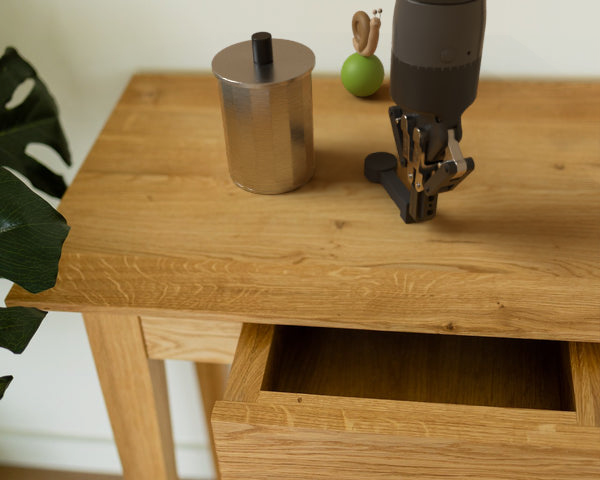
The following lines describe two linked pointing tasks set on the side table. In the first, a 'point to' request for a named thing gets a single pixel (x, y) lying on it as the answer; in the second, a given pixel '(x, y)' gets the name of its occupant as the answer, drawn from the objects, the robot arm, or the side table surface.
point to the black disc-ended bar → (388, 180)
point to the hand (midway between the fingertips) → (421, 216)
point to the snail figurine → (363, 57)
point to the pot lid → (263, 62)
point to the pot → (269, 136)
